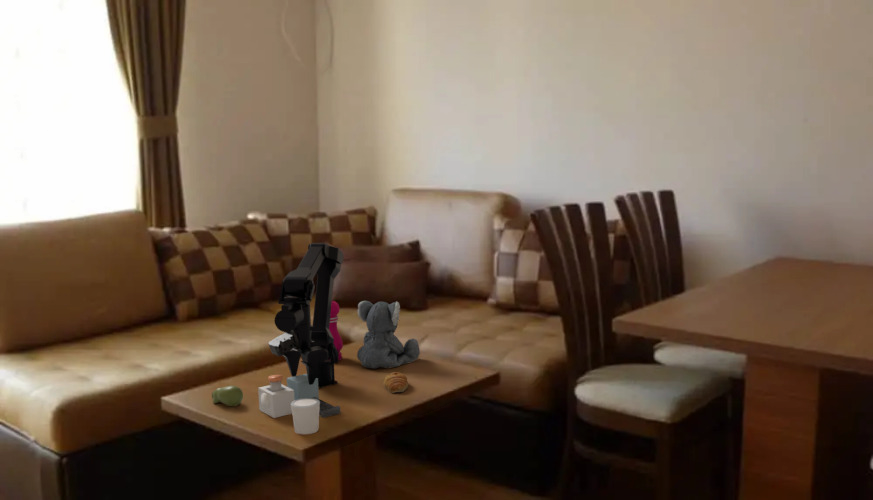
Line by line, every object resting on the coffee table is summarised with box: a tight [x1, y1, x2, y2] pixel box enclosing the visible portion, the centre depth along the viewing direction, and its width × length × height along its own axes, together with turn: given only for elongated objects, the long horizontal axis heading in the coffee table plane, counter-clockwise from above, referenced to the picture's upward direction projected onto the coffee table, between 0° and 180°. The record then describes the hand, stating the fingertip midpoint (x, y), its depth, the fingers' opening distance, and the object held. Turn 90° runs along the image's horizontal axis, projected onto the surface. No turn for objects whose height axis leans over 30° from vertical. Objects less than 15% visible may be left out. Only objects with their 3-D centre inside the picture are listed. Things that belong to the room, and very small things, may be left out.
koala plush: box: [356, 300, 420, 370], centre depth 270 cm, size 17×18×20 cm
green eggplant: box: [211, 385, 244, 407], centre depth 236 cm, size 6×5×10 cm
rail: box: [312, 397, 341, 419], centre depth 233 cm, size 5×20×2 cm, turn 38°
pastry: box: [382, 371, 409, 394], centre depth 246 cm, size 9×7×4 cm
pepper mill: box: [329, 300, 344, 362], centre depth 275 cm, size 7×7×20 cm
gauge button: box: [267, 374, 283, 392], centre depth 228 cm, size 4×4×6 cm
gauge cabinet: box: [257, 383, 295, 419], centre depth 228 cm, size 6×8×6 cm
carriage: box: [286, 373, 320, 400], centre depth 236 cm, size 6×6×6 cm
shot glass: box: [291, 398, 320, 435], centre depth 215 cm, size 7×7×7 cm
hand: (302, 380), depth 236 cm, fingers open, 9 cm apart
